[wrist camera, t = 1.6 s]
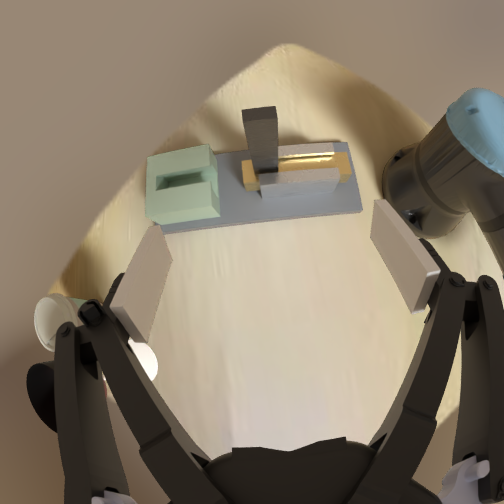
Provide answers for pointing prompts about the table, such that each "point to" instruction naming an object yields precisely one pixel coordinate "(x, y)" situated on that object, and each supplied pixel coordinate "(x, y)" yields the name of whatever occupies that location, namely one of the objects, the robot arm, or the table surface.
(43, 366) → the wineglass
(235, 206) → the base board
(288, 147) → the steel sleeve
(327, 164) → the sliding bolt with handle
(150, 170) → the socket block
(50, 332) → the coffee cup
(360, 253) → the table surface
